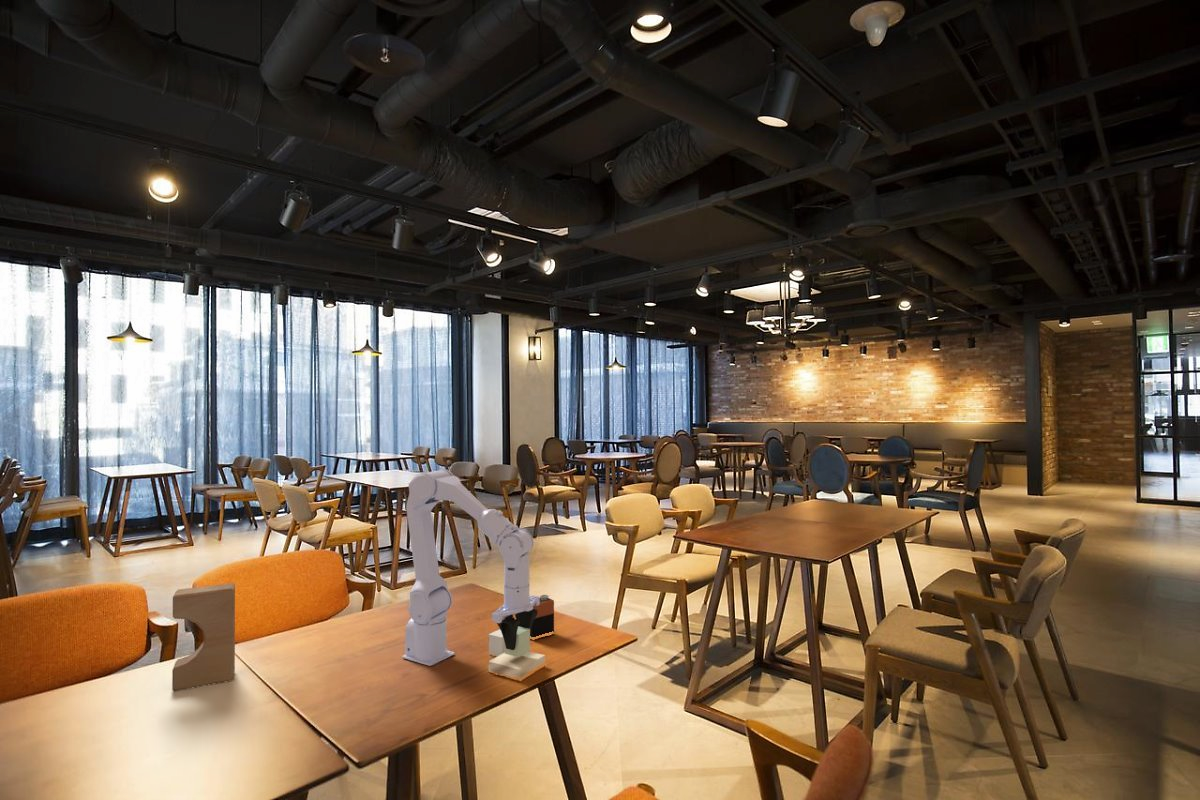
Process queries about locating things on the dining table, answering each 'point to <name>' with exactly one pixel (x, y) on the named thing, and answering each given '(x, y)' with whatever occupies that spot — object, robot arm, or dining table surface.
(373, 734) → the dining table surface
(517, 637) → the sage block
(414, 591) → the robot arm
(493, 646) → the grey block
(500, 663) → the birch base block
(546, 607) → the battery
